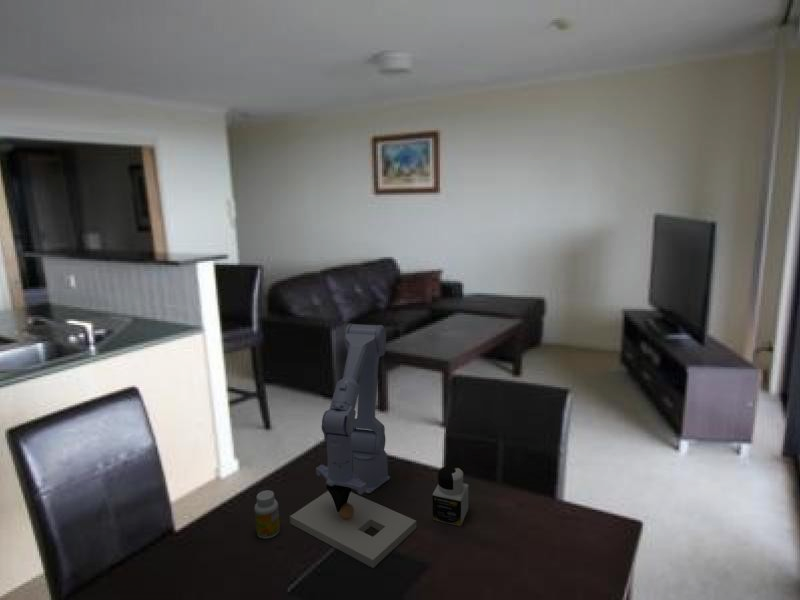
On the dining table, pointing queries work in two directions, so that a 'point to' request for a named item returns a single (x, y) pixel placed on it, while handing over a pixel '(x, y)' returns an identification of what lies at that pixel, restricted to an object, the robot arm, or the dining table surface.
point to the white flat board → (355, 527)
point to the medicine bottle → (450, 496)
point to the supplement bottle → (267, 515)
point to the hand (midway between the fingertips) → (341, 510)
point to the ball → (346, 510)
